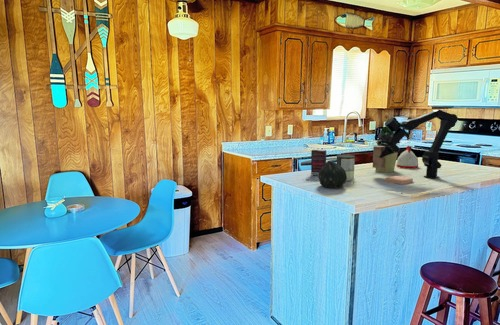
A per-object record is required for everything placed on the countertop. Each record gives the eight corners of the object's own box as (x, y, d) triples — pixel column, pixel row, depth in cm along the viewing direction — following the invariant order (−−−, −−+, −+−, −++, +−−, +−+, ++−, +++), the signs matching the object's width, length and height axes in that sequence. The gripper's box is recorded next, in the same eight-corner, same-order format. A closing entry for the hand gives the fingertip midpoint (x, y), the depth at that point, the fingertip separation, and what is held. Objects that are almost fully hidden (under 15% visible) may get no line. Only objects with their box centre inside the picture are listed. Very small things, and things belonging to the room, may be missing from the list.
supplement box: (326, 175, 216) (326, 150, 214) (324, 176, 212) (325, 150, 209) (312, 174, 220) (313, 149, 217) (310, 175, 215) (311, 150, 213)
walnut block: (377, 166, 206) (378, 145, 204) (385, 167, 202) (386, 146, 200) (372, 167, 203) (373, 146, 201) (379, 168, 199) (380, 147, 197)
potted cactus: (400, 170, 230) (403, 125, 225) (392, 173, 219) (395, 126, 214) (377, 167, 240) (380, 124, 235) (368, 170, 229) (371, 125, 224)
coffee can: (332, 179, 203) (333, 155, 201) (341, 176, 210) (342, 154, 208) (348, 182, 196) (349, 157, 194) (357, 179, 203) (358, 155, 201)
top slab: (396, 179, 197) (396, 175, 196) (412, 182, 188) (412, 178, 188) (385, 181, 191) (385, 177, 191) (401, 184, 183) (401, 180, 183)
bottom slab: (395, 181, 199) (395, 178, 198) (414, 185, 189) (415, 182, 188) (382, 184, 192) (382, 181, 192) (401, 188, 182) (402, 184, 182)
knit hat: (399, 168, 237) (400, 146, 235) (394, 165, 251) (395, 144, 248) (420, 168, 235) (422, 147, 232) (414, 165, 248) (416, 144, 246)
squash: (350, 174, 189) (332, 154, 189) (352, 181, 175) (333, 159, 175) (330, 190, 193) (312, 170, 193) (330, 198, 179) (311, 176, 179)
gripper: (380, 126, 208) (361, 145, 209) (395, 128, 190) (375, 148, 191) (391, 139, 210) (373, 157, 211) (408, 142, 192) (388, 162, 192)
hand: (377, 156), depth 201 cm, fingers closed on walnut block, 7 cm apart
